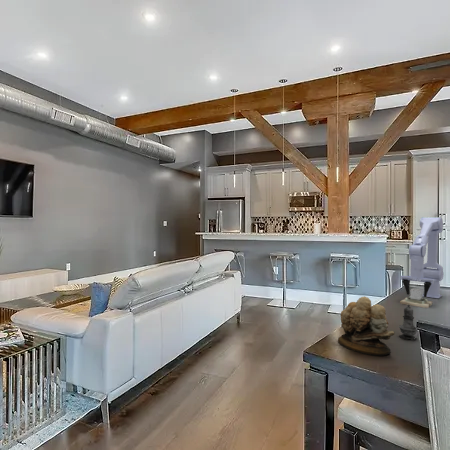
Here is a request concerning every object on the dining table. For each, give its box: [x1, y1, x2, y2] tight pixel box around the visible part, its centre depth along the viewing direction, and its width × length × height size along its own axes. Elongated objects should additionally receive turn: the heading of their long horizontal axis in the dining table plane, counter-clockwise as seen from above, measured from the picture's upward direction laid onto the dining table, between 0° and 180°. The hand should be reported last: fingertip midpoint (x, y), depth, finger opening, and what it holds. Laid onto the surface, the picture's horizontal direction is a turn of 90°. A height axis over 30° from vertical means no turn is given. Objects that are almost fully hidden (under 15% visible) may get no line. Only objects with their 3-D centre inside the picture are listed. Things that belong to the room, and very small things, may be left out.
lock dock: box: [399, 295, 434, 309], centre depth 165 cm, size 11×12×2 cm
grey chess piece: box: [398, 304, 418, 340], centre depth 117 cm, size 6×6×12 cm
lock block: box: [409, 287, 424, 301], centre depth 164 cm, size 4×4×6 cm
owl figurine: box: [337, 296, 395, 357], centre depth 108 cm, size 18×12×17 cm, turn 42°
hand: (416, 295), depth 164 cm, fingers open, 7 cm apart
